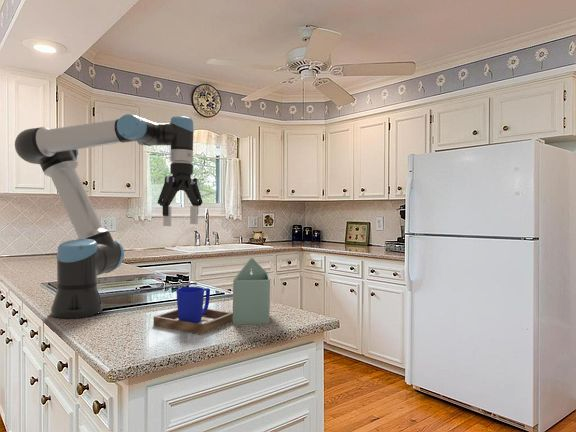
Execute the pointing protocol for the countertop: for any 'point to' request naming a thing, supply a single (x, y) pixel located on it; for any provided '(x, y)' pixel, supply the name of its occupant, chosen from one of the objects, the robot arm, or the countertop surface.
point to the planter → (251, 295)
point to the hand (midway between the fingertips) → (181, 225)
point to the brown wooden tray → (207, 323)
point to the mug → (192, 303)
